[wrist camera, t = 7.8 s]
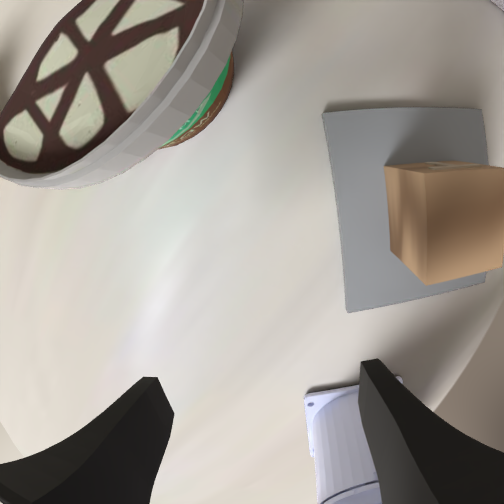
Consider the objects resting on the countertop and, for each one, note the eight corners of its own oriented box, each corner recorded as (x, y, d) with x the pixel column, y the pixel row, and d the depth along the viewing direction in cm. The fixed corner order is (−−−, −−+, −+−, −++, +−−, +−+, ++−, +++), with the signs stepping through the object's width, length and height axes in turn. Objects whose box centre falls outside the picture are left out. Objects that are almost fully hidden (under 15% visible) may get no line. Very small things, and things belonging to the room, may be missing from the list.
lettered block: (456, 238, 16) (501, 267, 11) (390, 250, 17) (425, 285, 12) (454, 158, 14) (505, 166, 10) (383, 164, 15) (423, 171, 10)
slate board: (480, 278, 17) (484, 282, 17) (345, 308, 19) (347, 313, 18) (476, 109, 14) (481, 109, 13) (321, 114, 15) (323, 112, 15)
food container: (142, 212, 18) (32, 273, 8) (87, 142, 16) (-36, 153, 7) (303, 79, 15) (337, -5, 5) (234, 9, 13) (196, -98, 4)
